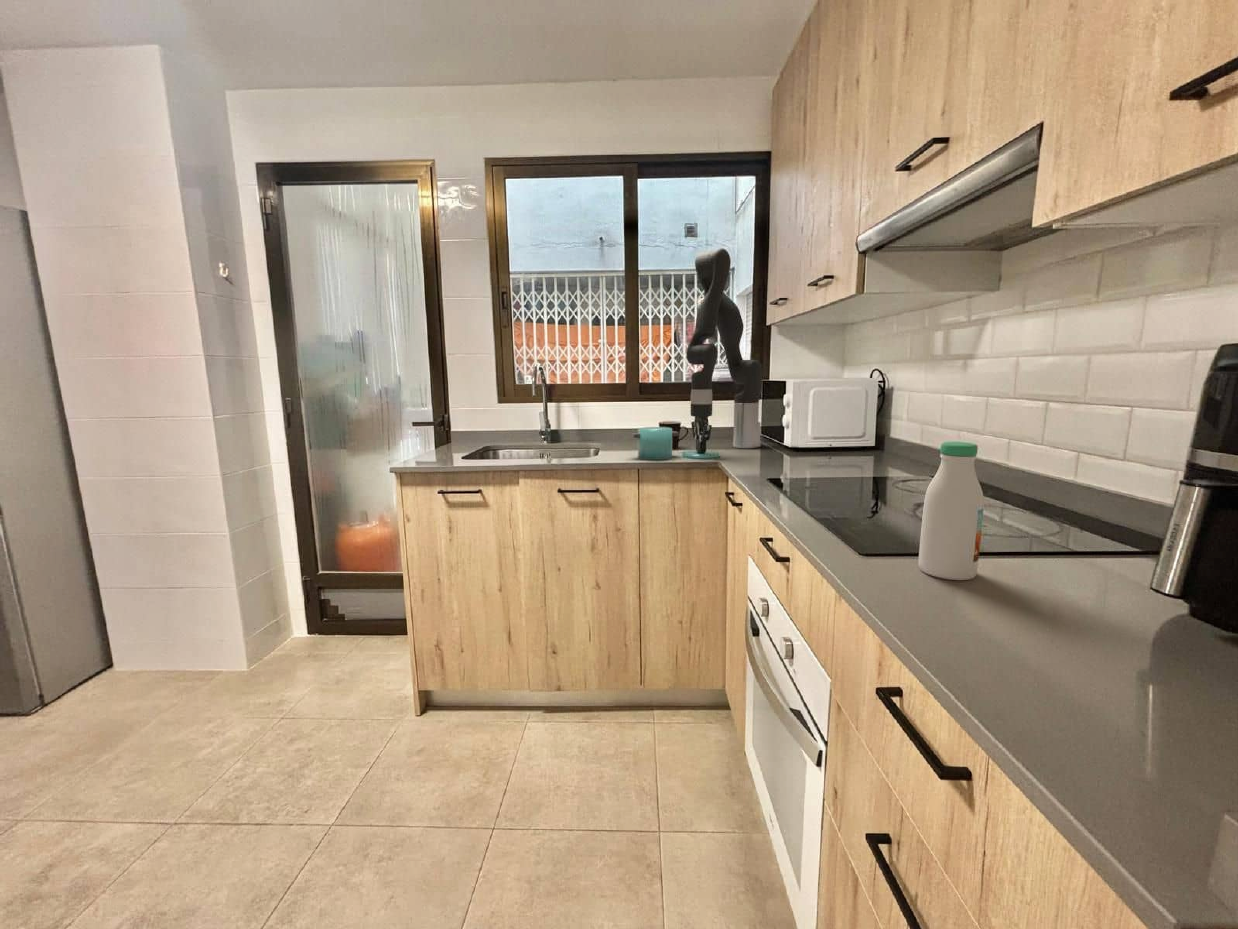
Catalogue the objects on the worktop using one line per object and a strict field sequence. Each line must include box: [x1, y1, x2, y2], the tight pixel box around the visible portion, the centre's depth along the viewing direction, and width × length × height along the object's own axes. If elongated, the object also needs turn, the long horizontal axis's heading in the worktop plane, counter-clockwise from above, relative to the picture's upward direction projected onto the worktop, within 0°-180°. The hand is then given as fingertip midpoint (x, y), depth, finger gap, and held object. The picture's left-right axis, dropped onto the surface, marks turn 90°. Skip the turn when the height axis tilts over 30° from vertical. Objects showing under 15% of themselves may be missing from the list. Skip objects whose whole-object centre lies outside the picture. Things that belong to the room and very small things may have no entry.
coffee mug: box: [658, 420, 689, 450], centre depth 207 cm, size 12×9×10 cm
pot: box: [630, 426, 680, 461], centre depth 188 cm, size 16×12×10 cm
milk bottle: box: [918, 441, 985, 581], centre depth 81 cm, size 8×8×20 cm
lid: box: [681, 439, 720, 460], centre depth 189 cm, size 13×13×6 cm
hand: (700, 451), depth 189 cm, fingers closed on lid, 3 cm apart
